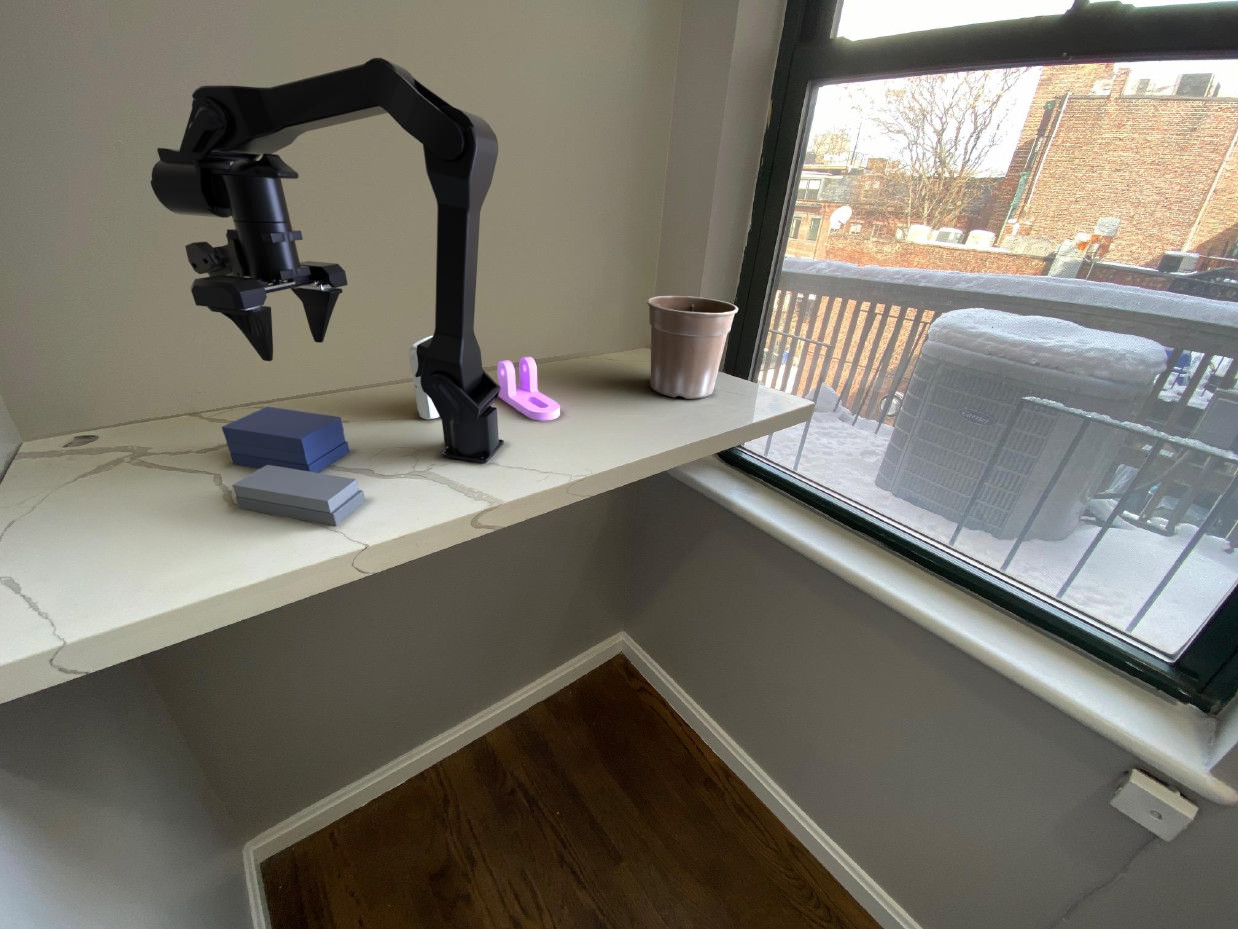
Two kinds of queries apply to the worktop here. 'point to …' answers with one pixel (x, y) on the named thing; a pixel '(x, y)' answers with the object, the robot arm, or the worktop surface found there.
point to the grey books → (299, 494)
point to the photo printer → (422, 399)
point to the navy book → (283, 429)
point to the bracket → (525, 390)
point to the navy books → (290, 455)
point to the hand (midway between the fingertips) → (294, 350)
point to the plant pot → (687, 343)
